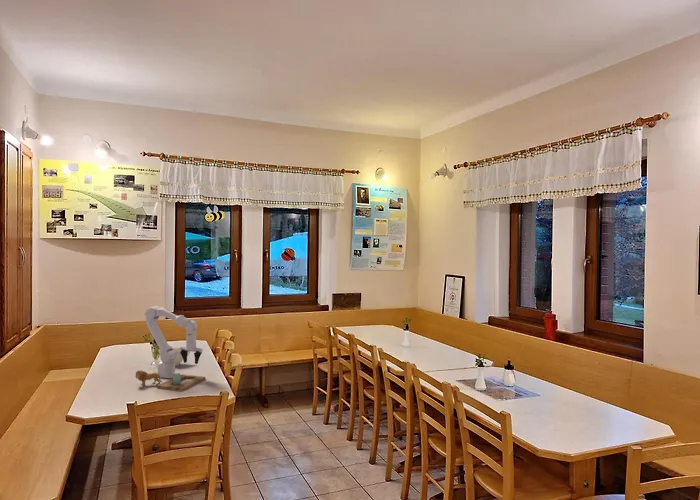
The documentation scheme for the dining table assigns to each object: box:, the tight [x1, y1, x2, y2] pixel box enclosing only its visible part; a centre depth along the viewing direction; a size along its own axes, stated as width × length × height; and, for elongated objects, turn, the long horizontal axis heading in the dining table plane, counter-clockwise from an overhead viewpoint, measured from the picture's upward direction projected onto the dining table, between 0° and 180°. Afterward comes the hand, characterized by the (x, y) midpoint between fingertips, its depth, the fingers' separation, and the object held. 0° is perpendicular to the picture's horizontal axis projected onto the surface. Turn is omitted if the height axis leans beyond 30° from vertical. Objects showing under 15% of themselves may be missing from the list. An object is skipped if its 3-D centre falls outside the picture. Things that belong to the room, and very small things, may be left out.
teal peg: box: [172, 372, 182, 385], centre depth 279 cm, size 4×4×7 cm
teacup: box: [172, 347, 191, 367], centre depth 326 cm, size 12×15×10 cm
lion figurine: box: [135, 369, 163, 387], centre depth 281 cm, size 15×5×9 cm, turn 123°
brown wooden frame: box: [156, 374, 206, 392], centre depth 285 cm, size 16×24×2 cm, turn 166°
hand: (190, 363), depth 296 cm, fingers open, 7 cm apart
